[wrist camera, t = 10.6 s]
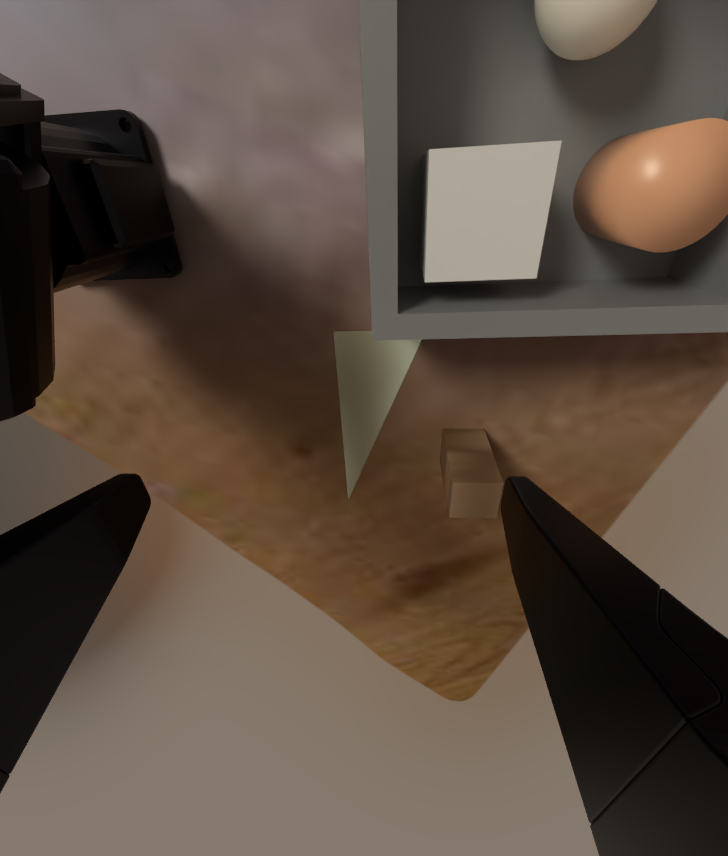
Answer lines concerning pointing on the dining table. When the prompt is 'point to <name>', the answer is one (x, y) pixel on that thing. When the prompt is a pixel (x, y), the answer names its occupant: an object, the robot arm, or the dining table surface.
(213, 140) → the dining table surface
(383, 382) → the lid
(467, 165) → the storage box
